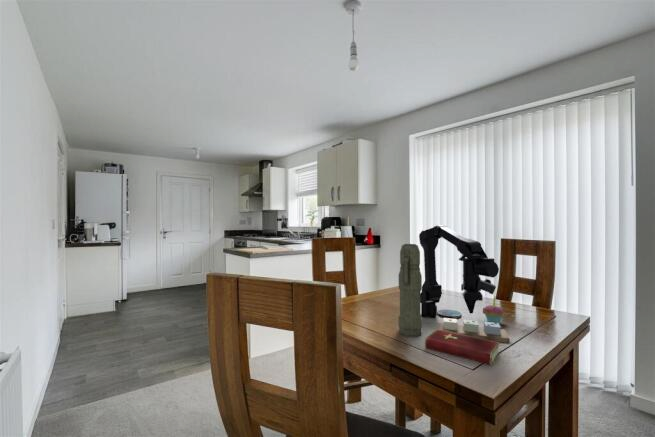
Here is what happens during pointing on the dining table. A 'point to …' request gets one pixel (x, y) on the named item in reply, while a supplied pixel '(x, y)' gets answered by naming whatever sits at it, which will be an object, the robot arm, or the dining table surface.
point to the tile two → (471, 326)
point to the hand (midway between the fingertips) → (471, 313)
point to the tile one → (450, 324)
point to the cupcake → (493, 313)
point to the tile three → (492, 328)
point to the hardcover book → (463, 346)
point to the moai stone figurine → (410, 291)
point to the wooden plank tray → (481, 334)
